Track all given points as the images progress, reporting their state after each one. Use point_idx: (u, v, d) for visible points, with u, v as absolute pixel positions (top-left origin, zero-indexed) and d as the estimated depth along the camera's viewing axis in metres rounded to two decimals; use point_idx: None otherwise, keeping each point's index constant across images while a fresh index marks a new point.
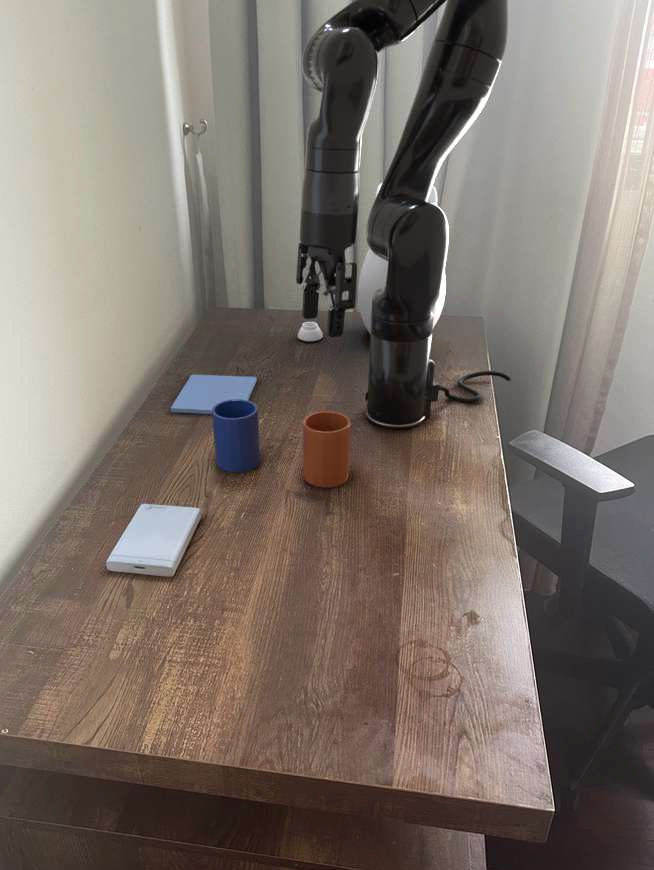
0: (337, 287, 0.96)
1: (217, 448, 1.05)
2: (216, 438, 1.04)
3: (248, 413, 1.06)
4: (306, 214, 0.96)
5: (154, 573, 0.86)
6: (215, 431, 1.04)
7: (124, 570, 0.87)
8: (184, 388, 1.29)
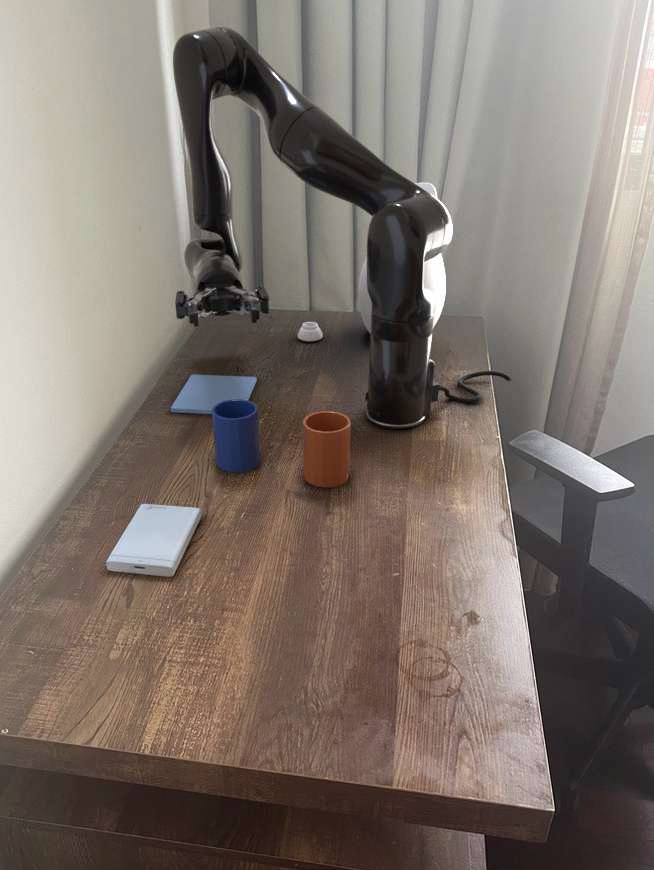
0: None
1: (217, 448, 1.05)
2: (216, 438, 1.04)
3: (248, 413, 1.06)
4: None
5: (154, 573, 0.86)
6: (215, 431, 1.04)
7: (124, 570, 0.87)
8: (184, 388, 1.29)
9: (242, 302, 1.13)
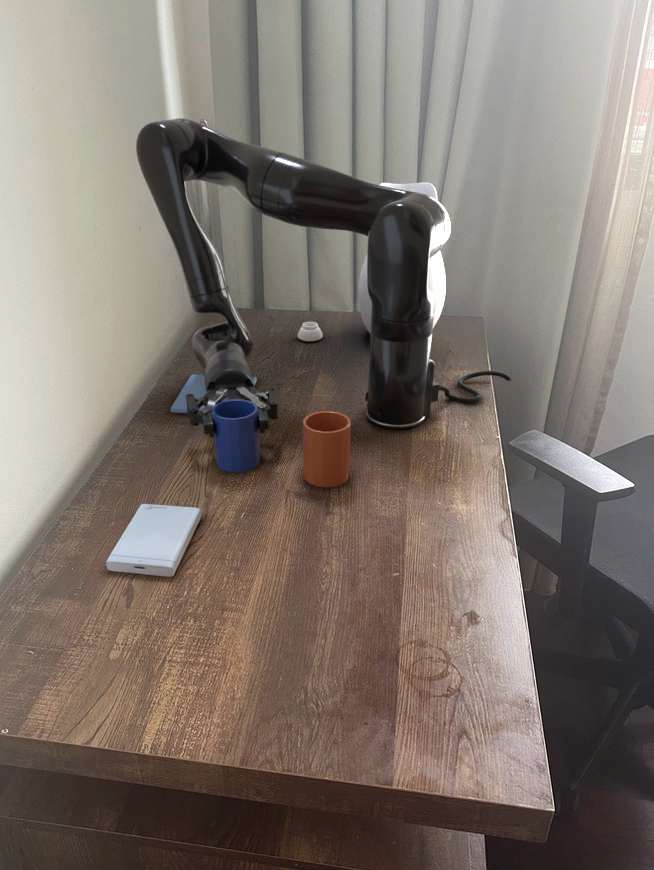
0: None
1: (217, 448, 1.05)
2: (216, 438, 1.04)
3: (248, 413, 1.06)
4: None
5: (154, 573, 0.86)
6: (215, 431, 1.04)
7: (124, 570, 0.87)
8: (184, 388, 1.29)
9: None
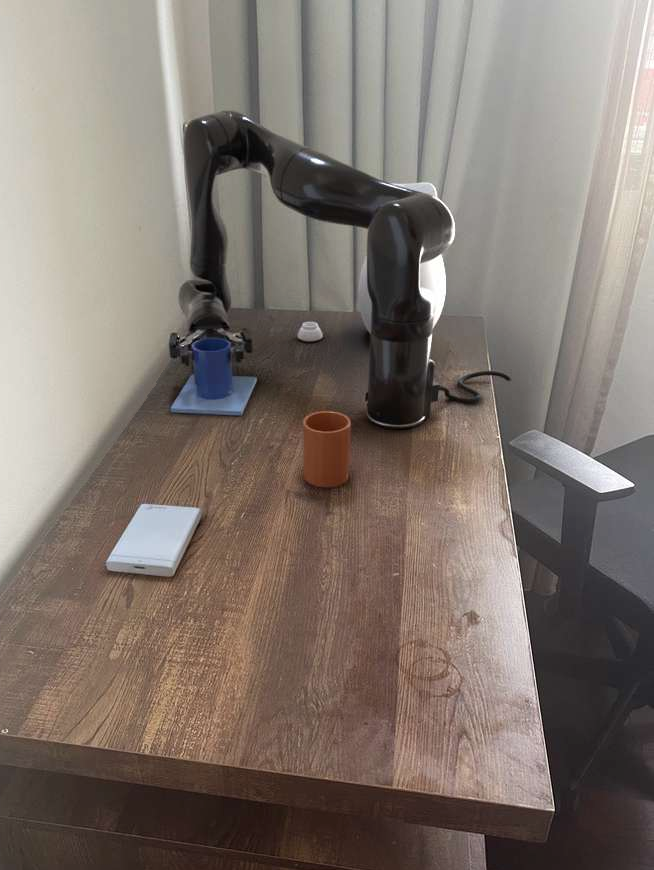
0: None
1: (196, 379, 1.24)
2: (195, 369, 1.23)
3: None
4: None
5: (154, 573, 0.86)
6: (194, 363, 1.23)
7: (124, 570, 0.87)
8: (184, 388, 1.29)
9: None
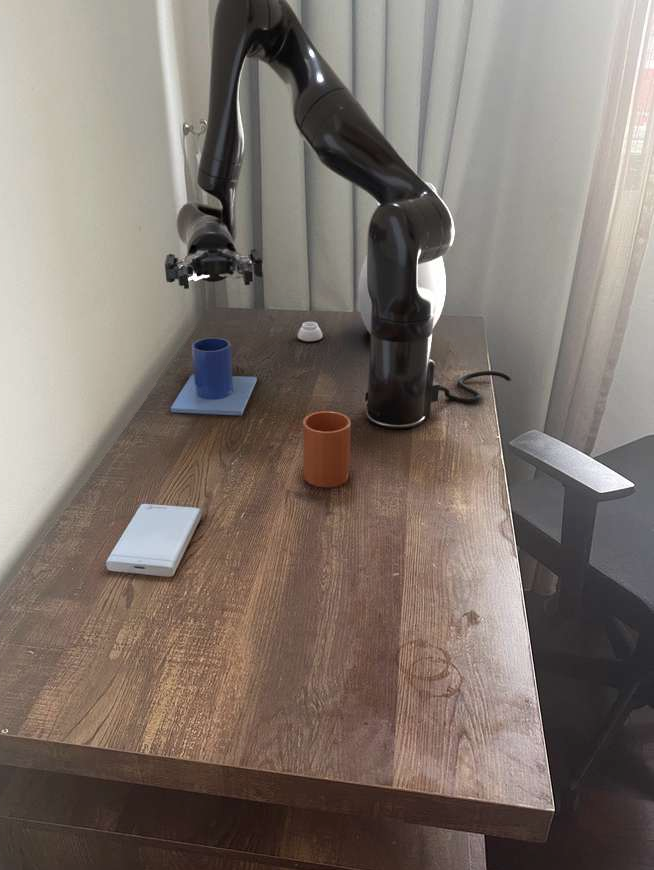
0: None
1: (196, 379, 1.24)
2: (195, 369, 1.23)
3: None
4: None
5: (154, 573, 0.86)
6: (194, 363, 1.23)
7: (124, 570, 0.87)
8: (184, 388, 1.29)
9: (235, 265, 1.08)
